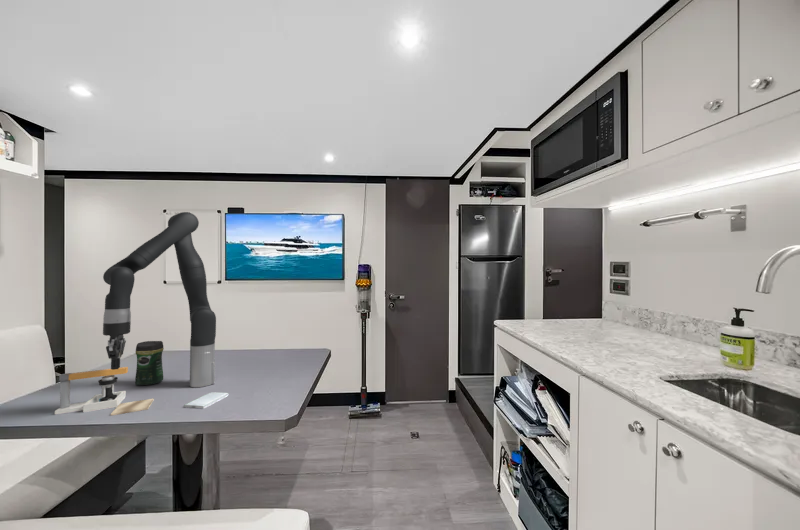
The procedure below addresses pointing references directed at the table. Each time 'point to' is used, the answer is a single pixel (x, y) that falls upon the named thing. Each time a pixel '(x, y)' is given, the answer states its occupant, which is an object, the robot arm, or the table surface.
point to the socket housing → (85, 406)
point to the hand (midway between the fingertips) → (115, 368)
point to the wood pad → (132, 406)
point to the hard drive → (206, 400)
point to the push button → (108, 387)
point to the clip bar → (92, 374)
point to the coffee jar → (149, 363)
